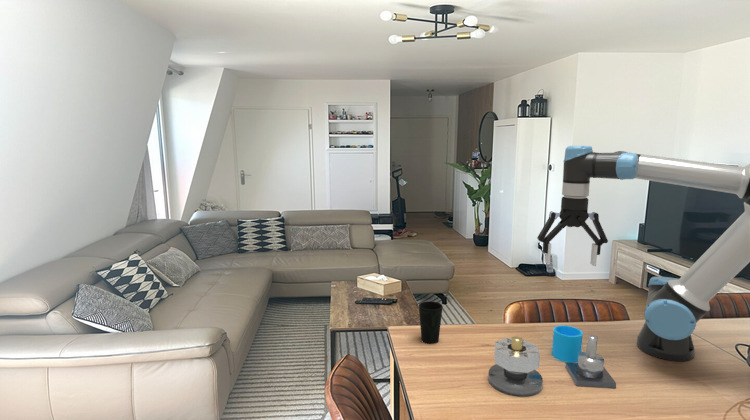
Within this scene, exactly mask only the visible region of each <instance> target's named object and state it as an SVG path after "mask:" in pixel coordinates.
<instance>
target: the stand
mask: <svg viewBox="0 0 750 420" xmlns="http://www.w3.org/2000/svg"><path fill="white" fill-rule="evenodd" d="M598 338H599V337H598V336H597V335H595V334H588V335H587V340H586V341H587V342H586V344H587V345H586V351H581V352H580V353H579V354H578V362H575V363H568V362H565V369H566V371H567V373H568V374H569V376H570V377H571V379H572V380H573V383H574V384H575V386H577V387H586V388H587V387H589V388H604V389H605V388H606V389H617V382H616V381H615V380H614V378H613V377H612V376H611V374H610V373H609V371H608V370H607V369H606V368H605V366H604V363H605V358H604V356H602V355H600V354H598V353H597V352H598V351H597V349H598Z"/></svg>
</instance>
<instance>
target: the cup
mask: <svg viewBox="0 0 750 420" xmlns="http://www.w3.org/2000/svg"><path fill="white" fill-rule="evenodd" d="M418 312H419V313H418V314H419V323H420V324H419V325H420V326H419V327H420V335H421V336H420V337H421V342H422V341H423V342H422V343H424V344H426V343H427V344H428V345H435V344H437V343H439V341H440V340H439V339H440V333H441V332H440V331H441V324H442V323H441V321H442V315H443V304H441V303H440V302H437V301H431V300H430V301H427V300H426V301H422V302H420V303H419V304H418Z"/></svg>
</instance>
